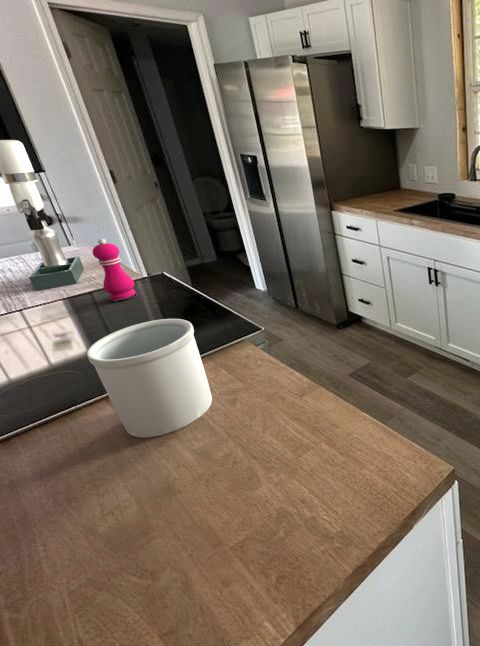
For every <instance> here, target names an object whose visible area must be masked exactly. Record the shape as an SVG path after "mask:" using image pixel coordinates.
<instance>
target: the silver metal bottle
mask: <svg viewBox="0 0 480 646" xmlns="http://www.w3.org/2000/svg"><path fill="white" fill-rule="evenodd" d="M41 222H42V224H43V226H44V229H41V230H31V234H30V239H31V240H32V242H33V244H34V245H35V246H36V248H37V250H38V252H39V254H40V255H41V259H42V262H44V268H45V267H51V266H58V265H64V264H70V263H69V261H68V260H67V259H66V258H67V257H66V256H65V253H64V252H63V249H62V247H61V244H60V239H59V235H58V233H57V232H56V231H55V230H54V229H52V228H50V227H49V225H48V224H47V223H46V221H45V220H41Z"/></svg>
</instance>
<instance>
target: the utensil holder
mask: <svg viewBox="0 0 480 646" xmlns="http://www.w3.org/2000/svg"><path fill="white" fill-rule="evenodd" d="M194 333H195V329H194V326H193V324H192V323H191V321H188V320H185V319H181V318H163V319H156V320H150V321H145V322H141V323H137V324H133V325H130V326H126V327H124V328H122V329H119V330H116V331H113V332H112V333H110V334H108V335H105V336H104V337H102V338H100V339H99V340H97V341H96V342H94V343H93V344H91V346H90V347H89V348H88V350H87V352H86V357H87V359H88V361H89V362H90V364H91V365H93V366H94V368H95V370H96V373H97V375H98V377H99V379H100V381H101V383H102V385H103V387H104V389H105V391H106V394H107V396H108V398H109V400H110V402H111V404H112V406H113V408H114V410H115V412H116V414H117V416H118V418H119V420H120V421H121V423H122V425H123V428H124V429H125V431H126V433H127V434H129V435H130V436H132V437H135V438H141V439H145V438H154V437H159V436H164V435H168V434H170V433H173V432H175V431H178V430H180V429H183V428H185V427H187V426H189V425H191V424H192V423H194V422H195V421H197V420H198V419H200V417H202V416H203V415H204V414H205V413H206V412H207V411H208V410H209V408H210V407H211V405H212V402H213V396H212V393H211V389H210V384H209V381H208V377H207V374H206V371H205V368H204V364H203V361H202V358H201V355H200V351H199V348H198V345H197V341H196V339H195V336H194Z"/></svg>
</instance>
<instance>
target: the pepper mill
mask: <svg viewBox="0 0 480 646" xmlns="http://www.w3.org/2000/svg"><path fill="white" fill-rule="evenodd" d="M97 243H98V244H97V245H95V246H94V247H93V248H92V255H93V257H94V258H96V259H97V260H98V263H99V266H102V269H103V271H104V279H103V290H104V292H106V293H108V294H109V296H108V297H109V299H110V301H111V300H118V299H124V298H128V297H130V296H132V295H134V294H135V293H136V294H137V292H136V290H135V289H134V287H135V281H134V279H132V277H131V276H129V274H127V273H126V272H125V271H124V270H123V268H122V266H121V263H120V262H122V260H121V257H120V256H119V255H120V249H119V246H117V245H116V244H114V243H108V242H107V240H106V239H104V238H100V239H98V240H97Z"/></svg>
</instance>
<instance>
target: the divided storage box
mask: <svg viewBox="0 0 480 646" xmlns="http://www.w3.org/2000/svg"><path fill="white" fill-rule="evenodd" d="M66 259H67V260H68V261H69V263H70V264H64V265H58V266H51V267H45V268H44V262H43V261H41V262H40V263H39V264H38V265H37V267H36V268H35V269H34V271H33V272H31V274H30V275H29V277H28V278H29V280H30V282H31V285H32V287H33V289H34V291H35V292H39V291H44V290H48V289H49V290H50V289H53V288H59V287H66V286H71V285H77V284H78V282H79V281H80V278H81V276H82V274H83V272H84V269H85V267H84V265H83V263H82V259H81V257H80V256H79V255H78V256H72V257H71V256H70V257H66ZM65 285H66V286H65Z"/></svg>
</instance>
